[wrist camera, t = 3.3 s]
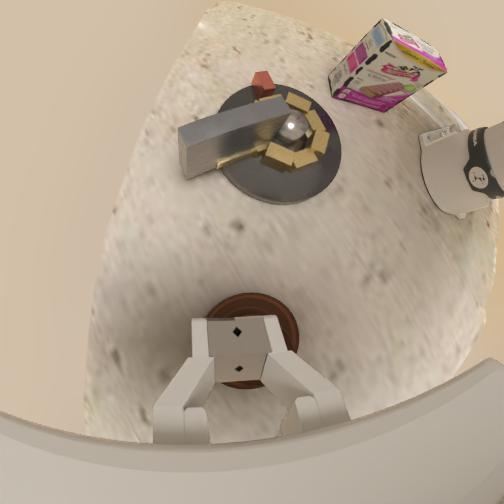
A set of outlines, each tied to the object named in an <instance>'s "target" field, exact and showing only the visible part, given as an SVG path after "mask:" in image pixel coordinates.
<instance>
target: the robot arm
mask: <svg viewBox="0 0 504 504" xmlns="http://www.w3.org/2000/svg"><path fill="white" fill-rule="evenodd" d="M419 140H420V145H421V149H422V155H421V166H422V172H423V177H424V180H425V183H426V186H427V189H428V191H429V193H430V195H431V197H432V199H433V200H434V202H435V203H436V205H437V206H438V207H439V208H440V209H441V210H442V211H444V212H445V213H448V214H454V215H455V216H456V217H457V218H458V219H460V220H462V219H465V218H466V215H467V212H471V211H474V210H478V209H481V208H485V207H488V206H489V204H490V202H491V199H496V198H503V197H504V121H503V122H501V123H499V124H497V125H494V126H492V127H490V128H488V127H483V128H478V129H476V130H473V131H471V130H469V129H466V130H463V131H461V130H460V127H459V125H458V124H454V125H452V126H449V127H445V128H441V129H437V130H433V131H429V132H426V133H422V134H420V135H419ZM191 326H192V357H188V358H187V360H186V361H185V362H184V364H183V365H182V367H181V368H180V369H179V371H178V372H177V374H176V375H175V376H174V378H173V379H172V381H171V382H170V383H169V385H168V386H167V387H166V389H165V390H164V392H163V393H162V394H161V396H160V397H159V399H158V400H157V401H156V403H155V404H154V405H153V444H149V443H136V442H126V441H118V440H110V439H103V438H97V437H91V436H86V435H81V434H76V433H71V432H67V431H62V430H58V429H55V428H51V427H47V426H44V425H40V424H37V423H33V422H30V421H27V420H24V419H21V418H19V417H16V416H13V415H10V414H8V413H5V412H3V411H0V504H504V365H503V364H501V363H500V362H498V361H497V360H495V359H493V358H487V359H485V360H483V361H482V362H480V363H478V364H477V365H475V366H473V367H472V368H470V369H468V370H467V371H465V372H463V373H461V374H460V375H458V376H456V377H454V378H452V379H450V380H449V381H447V382H445V383H443V384H441V385H439V386H437V387H435V388H433V389H431V390H428V391H426V392H424V393H422V394H420V395H418V396H415V397H413V398H411V399H408V400H406V401H404V402H401V403H399V404H396V405H394V406H391V407H388V408H386V409H383V410H380V411H377V412H375V413H372V414H369V415H366V416H363V417H360V418H356V419H353V420H350V417H349V414H348V412H347V409H346V406H345V404H344V401H343V398H342V396H341V393H340V390H339V388H337V387H336V386H335V385H334V384H332V383H331V382H330V381H329V380H327V379H326V378H325V377H323V376H322V375H321V374H320V373H319V372H317V371H316V370H315V369H314V368H312V367H311V366H310V365H309V364H307V363H306V362H305V361H304V360H303V359H301V358H300V357H299V356H298V355H296V354H295V353H294V352H293V351H292V350H291V351H288V350H287V347H286V344H285V341H284V337H283V334H282V331H281V328H280V325H279V321H278V318H277V316H276V315H265V316H247V317H234V318H207V319H206V318H192V322H191ZM247 380H260V381H261V382H262V383H263V384H264V385H265V386H266V387H267V388H268V390H269V391H270V392H271V393H272V394H273V395H274V396H275V397H276V398H277V399H278V400H279V401H280V402H281V403H282V404H283V406H284V407H285V408H286V409H287V410H288V411H289V412H288V414H287V415H286V417H285V419H284V420H283V422H282V423H281V425H280V427H281V431H282V435H283V436H281V437H275V438H268V439H261V440H253V441H244V442H234V443H220V444H210V437H209V430H208V421H207V413H206V410H205V409H203V408H202V407H203V405H204V403H205V401H206V399H207V397H208V396H209V394H210V392H211V390H212V388H213V386H214V384H215V383H221V382H232V381H247Z"/></svg>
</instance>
